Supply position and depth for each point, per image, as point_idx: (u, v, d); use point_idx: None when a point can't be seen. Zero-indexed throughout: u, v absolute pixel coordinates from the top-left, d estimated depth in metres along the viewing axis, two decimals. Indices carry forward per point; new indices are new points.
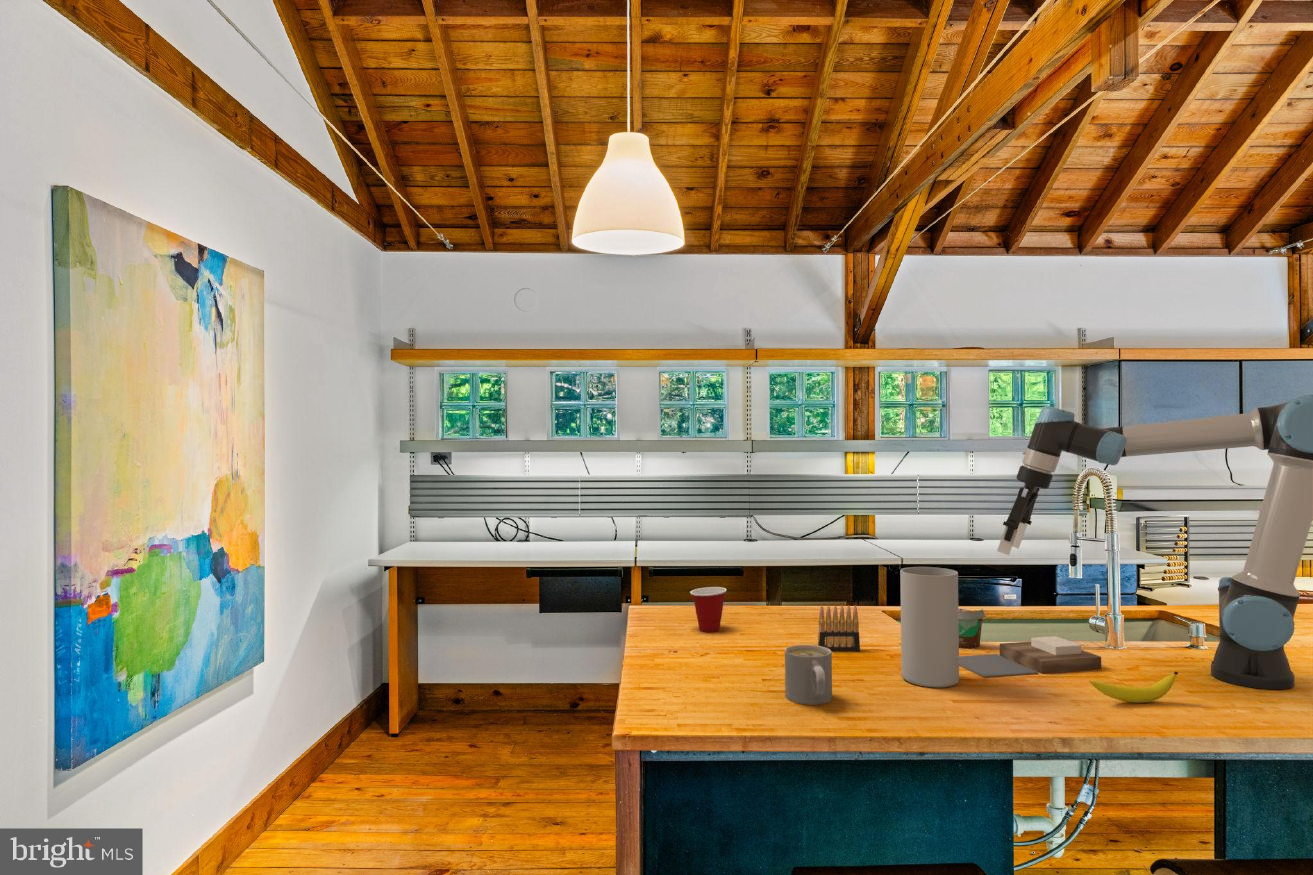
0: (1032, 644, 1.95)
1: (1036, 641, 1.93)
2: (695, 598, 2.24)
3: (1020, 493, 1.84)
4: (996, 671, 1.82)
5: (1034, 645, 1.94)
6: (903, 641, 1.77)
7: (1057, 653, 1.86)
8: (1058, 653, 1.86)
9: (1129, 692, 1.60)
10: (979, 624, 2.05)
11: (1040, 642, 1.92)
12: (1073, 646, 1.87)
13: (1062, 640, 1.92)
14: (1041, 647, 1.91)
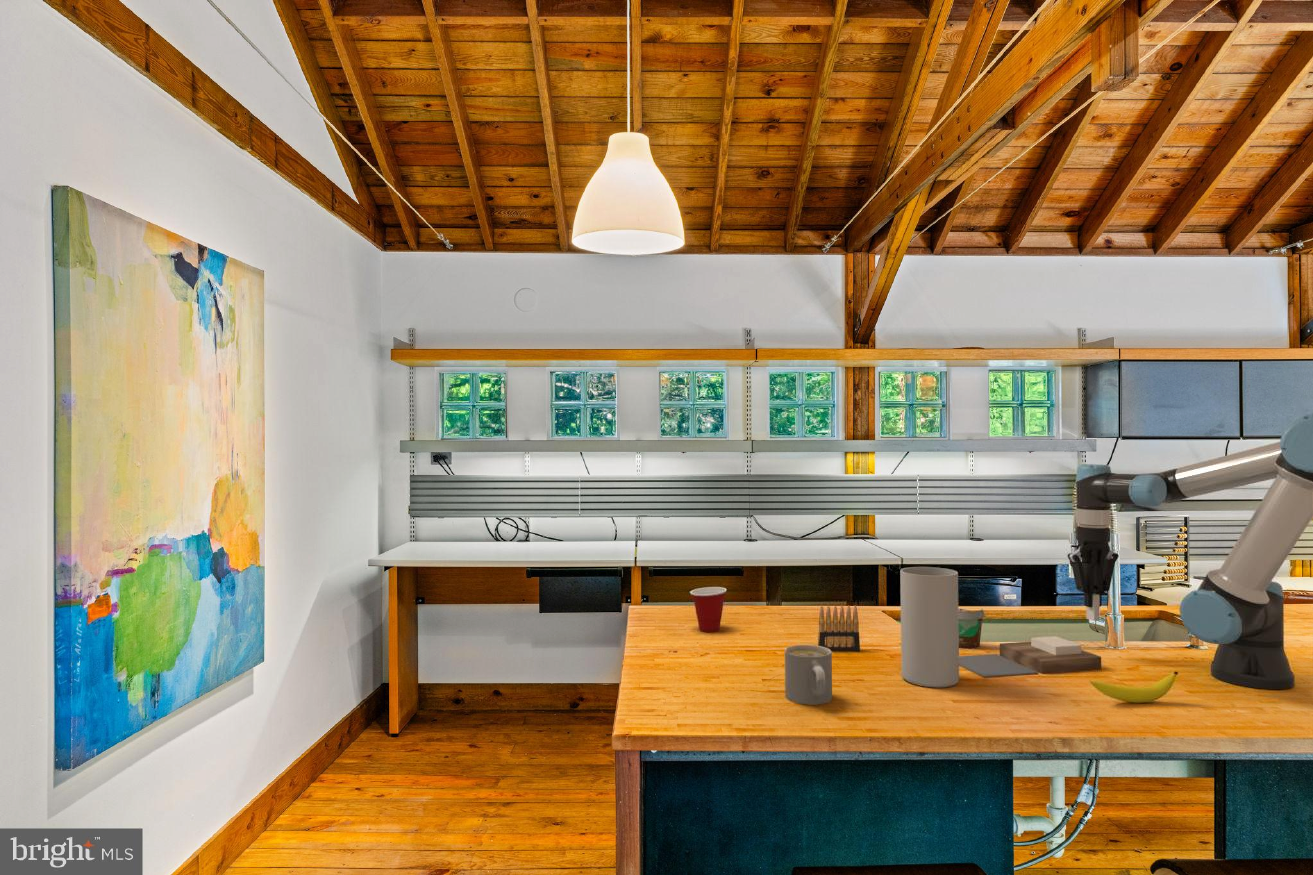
0: (1032, 644, 1.95)
1: (1036, 641, 1.93)
2: (695, 598, 2.24)
3: (1070, 560, 1.93)
4: (996, 671, 1.82)
5: (1034, 645, 1.94)
6: (903, 641, 1.77)
7: (1057, 653, 1.86)
8: (1058, 653, 1.86)
9: (1129, 692, 1.60)
10: (979, 624, 2.05)
11: (1040, 642, 1.92)
12: (1073, 646, 1.87)
13: (1062, 640, 1.92)
14: (1041, 647, 1.91)
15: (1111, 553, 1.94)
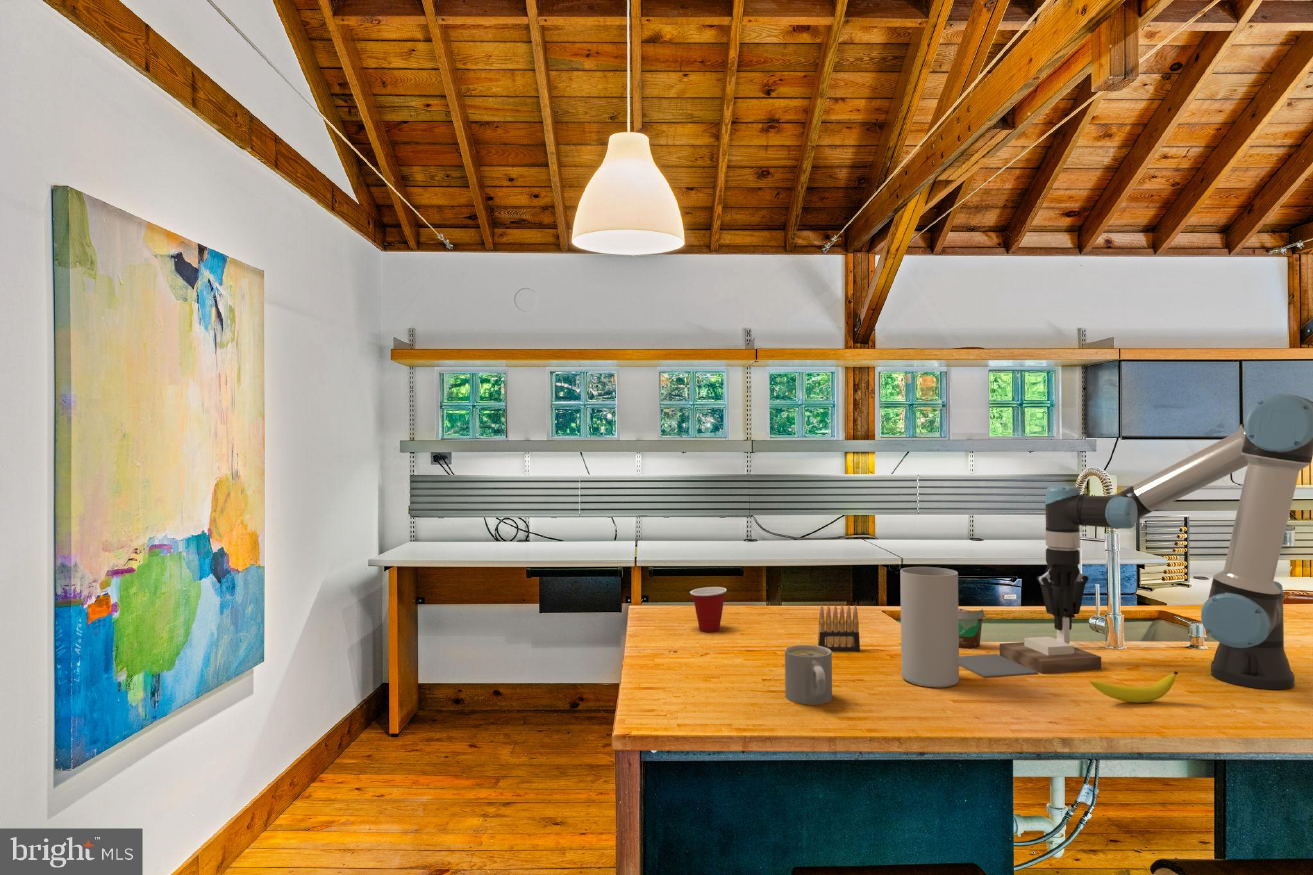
0: (1025, 644, 1.94)
1: (1029, 641, 1.93)
2: (695, 598, 2.24)
3: (1040, 582, 1.92)
4: (996, 671, 1.82)
5: (1027, 645, 1.94)
6: (903, 641, 1.77)
7: (1049, 653, 1.86)
8: (1050, 653, 1.86)
9: (1129, 692, 1.60)
10: (979, 624, 2.05)
11: (1033, 642, 1.91)
12: (1066, 646, 1.87)
13: (1055, 640, 1.92)
14: (1034, 647, 1.91)
15: (1081, 575, 1.92)
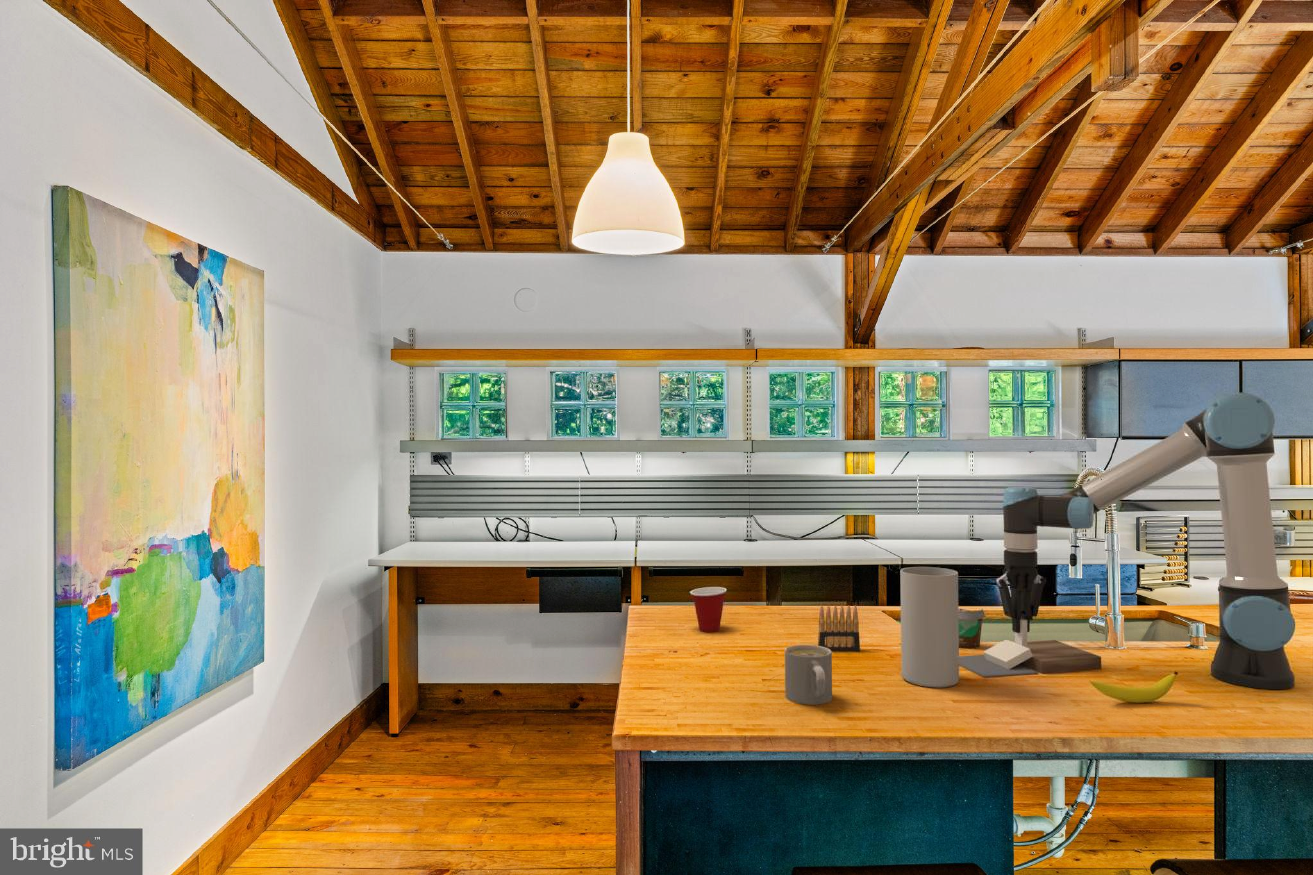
0: (986, 658, 1.92)
1: (988, 655, 1.91)
2: (695, 598, 2.24)
3: (997, 584, 1.90)
4: (996, 671, 1.82)
5: (988, 659, 1.91)
6: (903, 641, 1.77)
7: (1010, 667, 1.84)
8: (1011, 666, 1.84)
9: (1129, 692, 1.60)
10: (979, 624, 2.05)
11: (992, 656, 1.89)
12: (1022, 653, 1.85)
13: (1012, 645, 1.90)
14: (994, 661, 1.89)
15: (1039, 577, 1.90)
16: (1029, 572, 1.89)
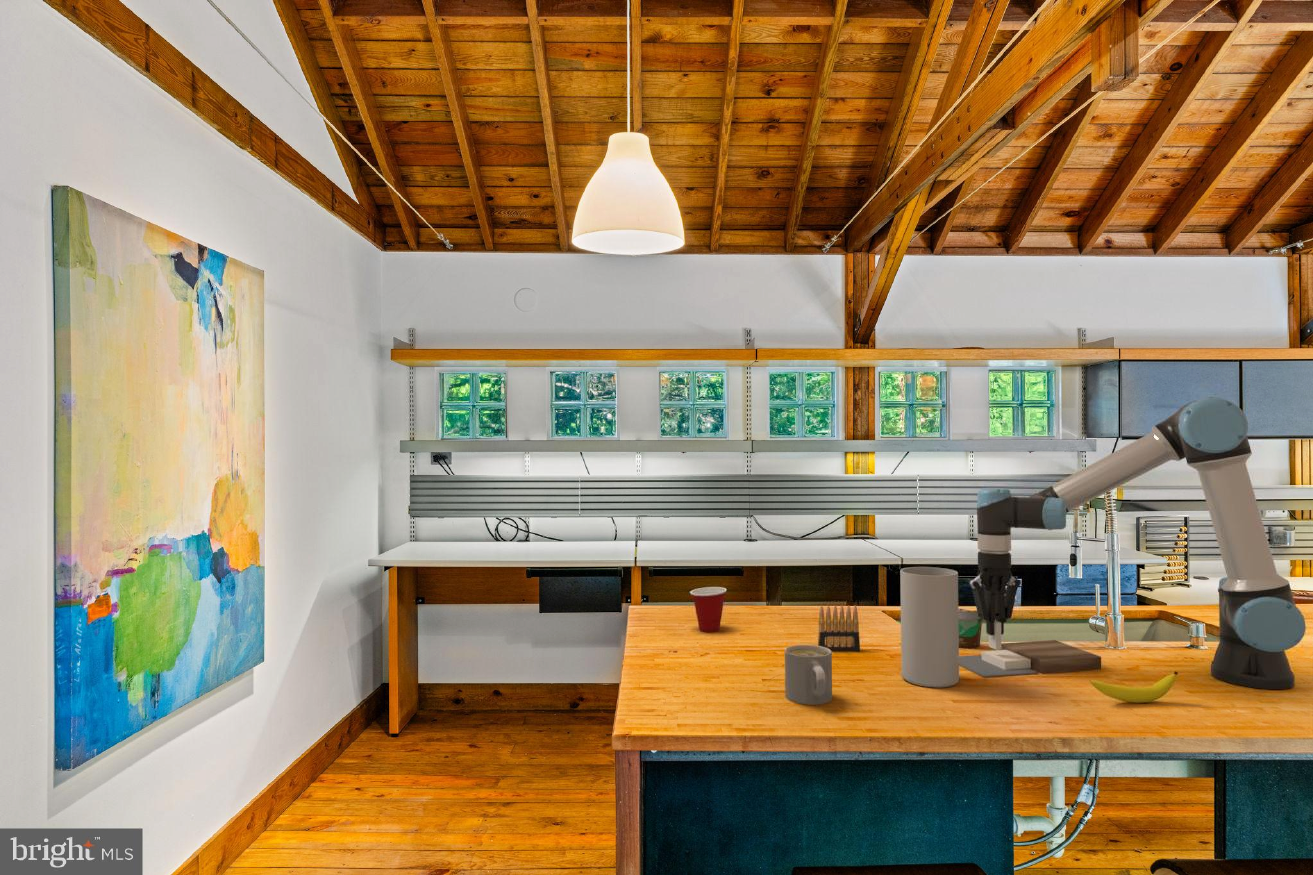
0: (982, 658, 1.92)
1: (986, 655, 1.90)
2: (695, 598, 2.24)
3: (971, 586, 1.88)
4: (996, 671, 1.82)
5: (984, 659, 1.91)
6: (903, 641, 1.77)
7: (1006, 668, 1.84)
8: (1007, 668, 1.84)
9: (1129, 692, 1.60)
10: (979, 624, 2.05)
11: (990, 656, 1.89)
12: (1022, 660, 1.85)
13: (1012, 654, 1.90)
14: (991, 661, 1.89)
15: (1013, 579, 1.89)
16: (1003, 574, 1.88)
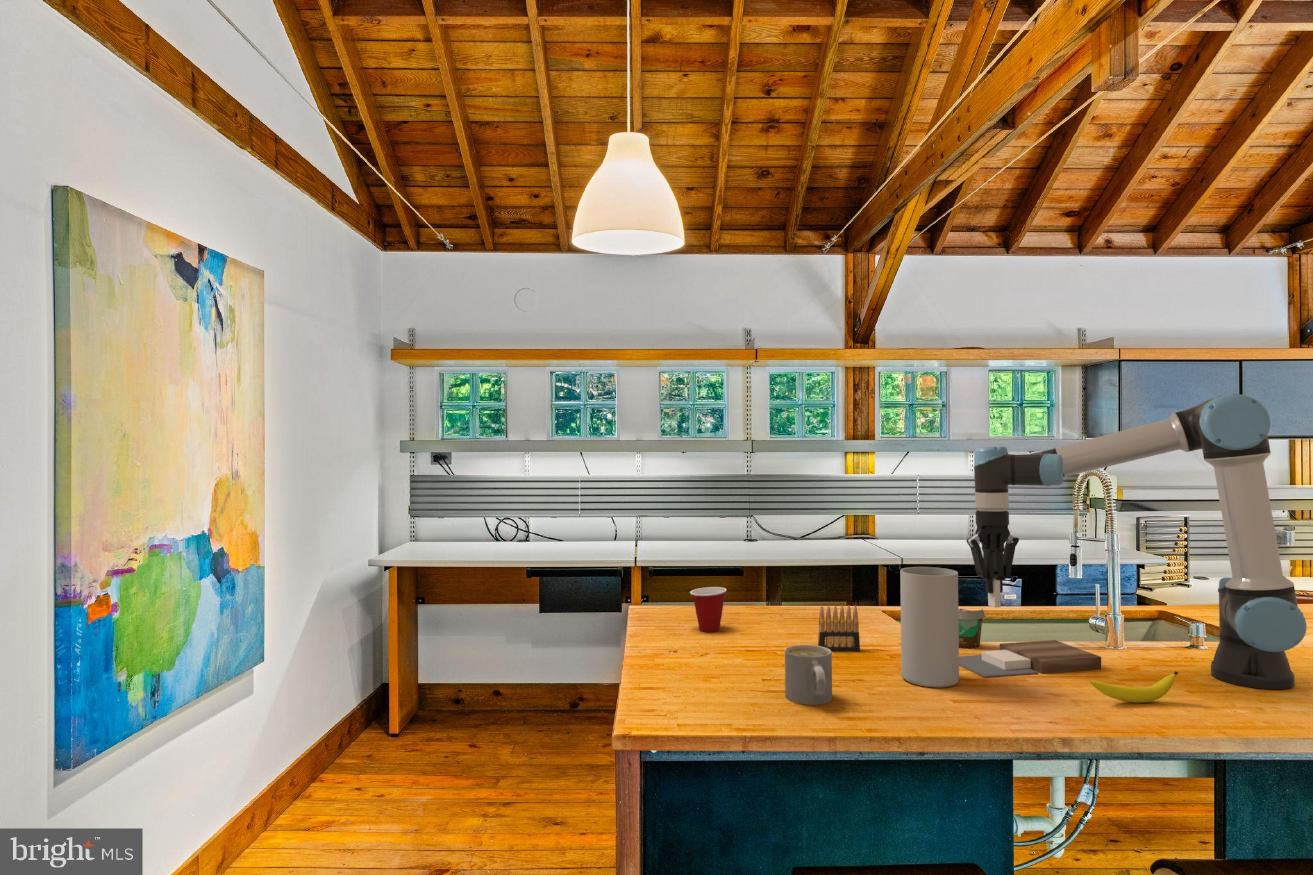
0: (982, 658, 1.92)
1: (986, 655, 1.90)
2: (695, 598, 2.24)
3: (969, 545, 1.88)
4: (996, 671, 1.82)
5: (984, 659, 1.91)
6: (903, 641, 1.77)
7: (1006, 668, 1.84)
8: (1007, 668, 1.84)
9: (1129, 692, 1.60)
10: (979, 624, 2.05)
11: (990, 656, 1.89)
12: (1022, 660, 1.85)
13: (1012, 654, 1.90)
14: (991, 661, 1.89)
15: (1011, 537, 1.89)
16: (1001, 532, 1.88)
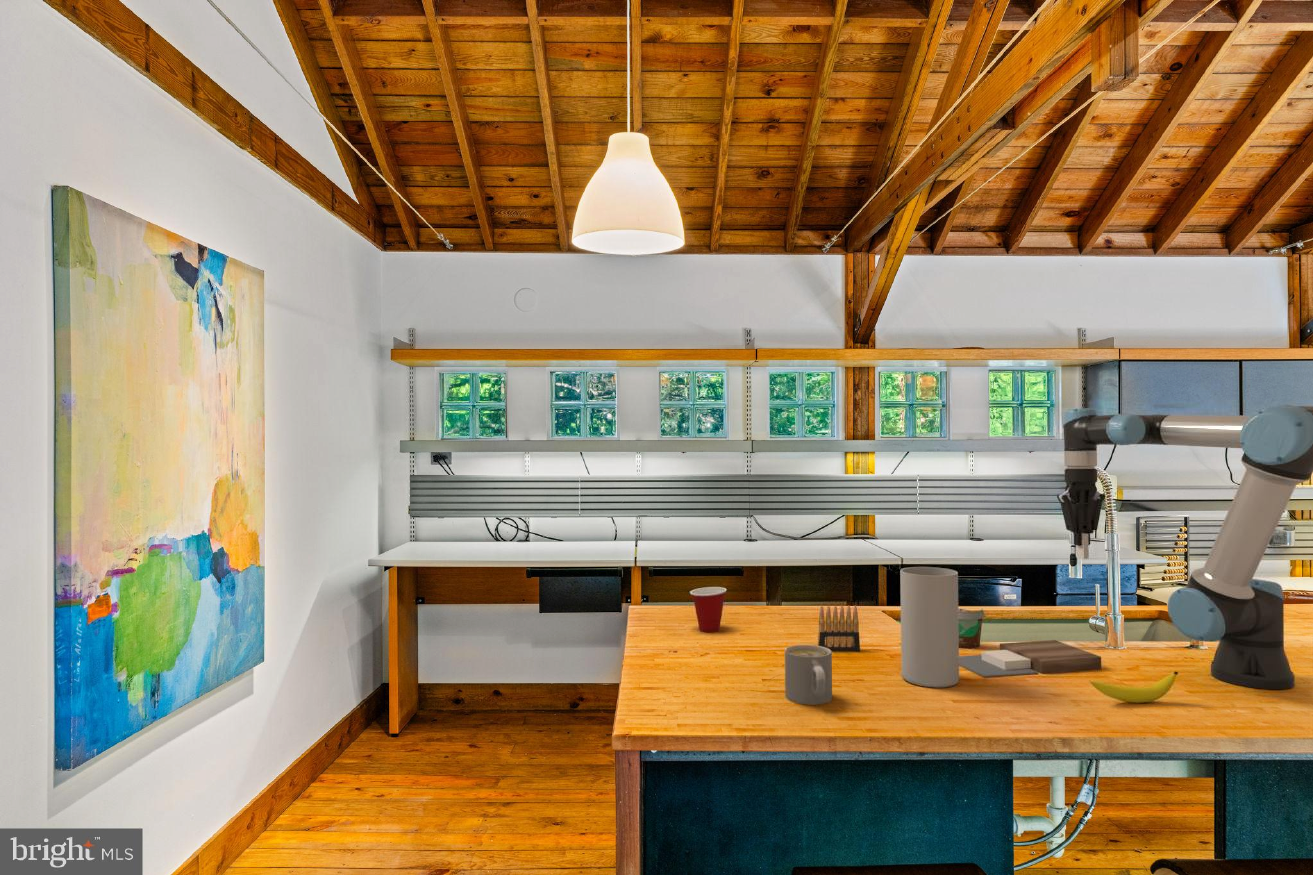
0: (982, 658, 1.92)
1: (986, 655, 1.90)
2: (695, 598, 2.24)
3: (1060, 500, 2.01)
4: (996, 671, 1.82)
5: (984, 659, 1.91)
6: (903, 641, 1.77)
7: (1006, 668, 1.84)
8: (1007, 668, 1.84)
9: (1129, 692, 1.60)
10: (979, 624, 2.05)
11: (990, 656, 1.89)
12: (1022, 660, 1.85)
13: (1012, 654, 1.90)
14: (991, 661, 1.89)
15: (1098, 494, 2.02)
16: (1089, 488, 2.01)
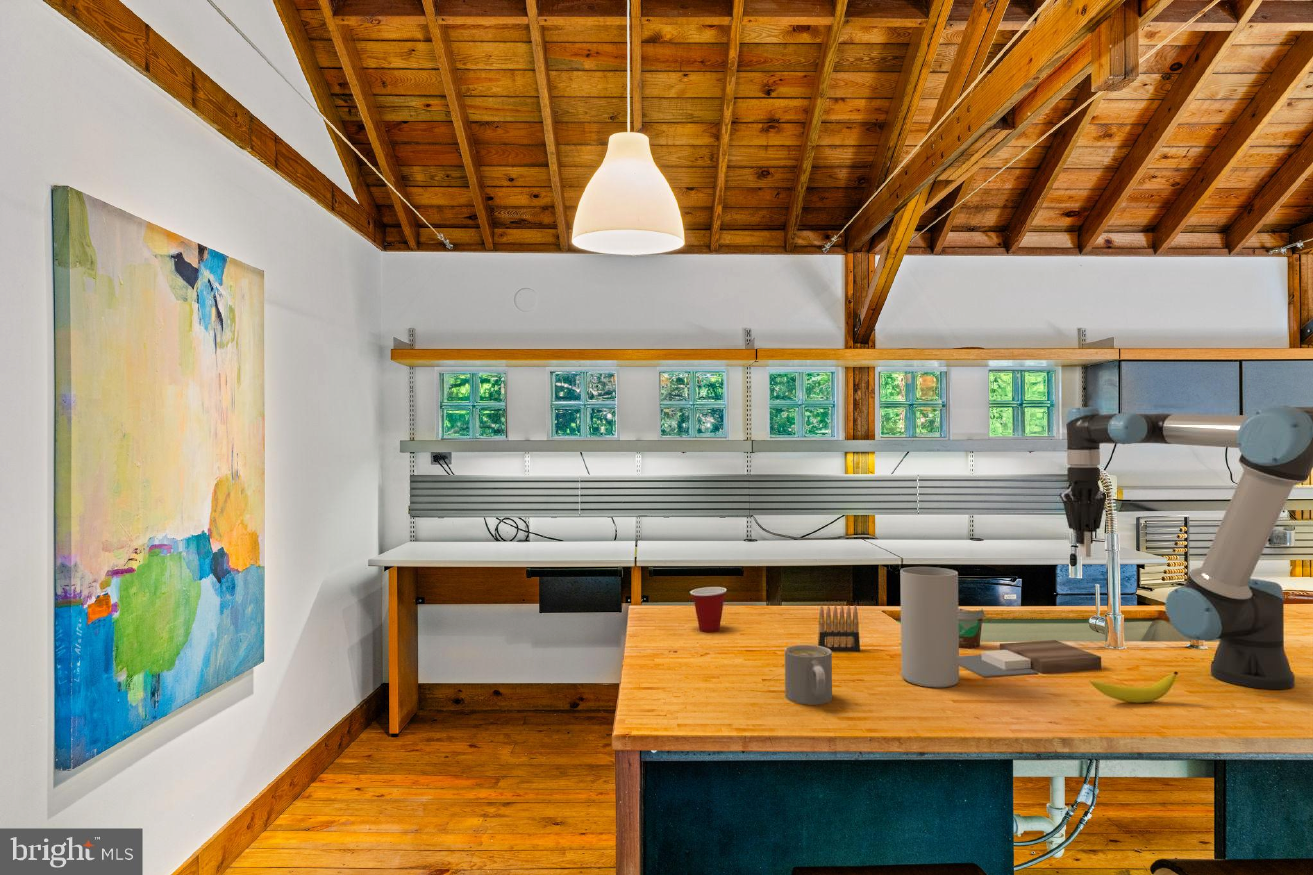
0: (982, 658, 1.92)
1: (986, 655, 1.90)
2: (695, 598, 2.24)
3: (1062, 499, 2.02)
4: (996, 671, 1.82)
5: (984, 659, 1.91)
6: (903, 641, 1.77)
7: (1006, 668, 1.84)
8: (1007, 668, 1.84)
9: (1129, 692, 1.60)
10: (979, 624, 2.05)
11: (990, 656, 1.89)
12: (1022, 660, 1.85)
13: (1012, 654, 1.90)
14: (991, 661, 1.89)
15: (1101, 492, 2.03)
16: (1092, 487, 2.01)
